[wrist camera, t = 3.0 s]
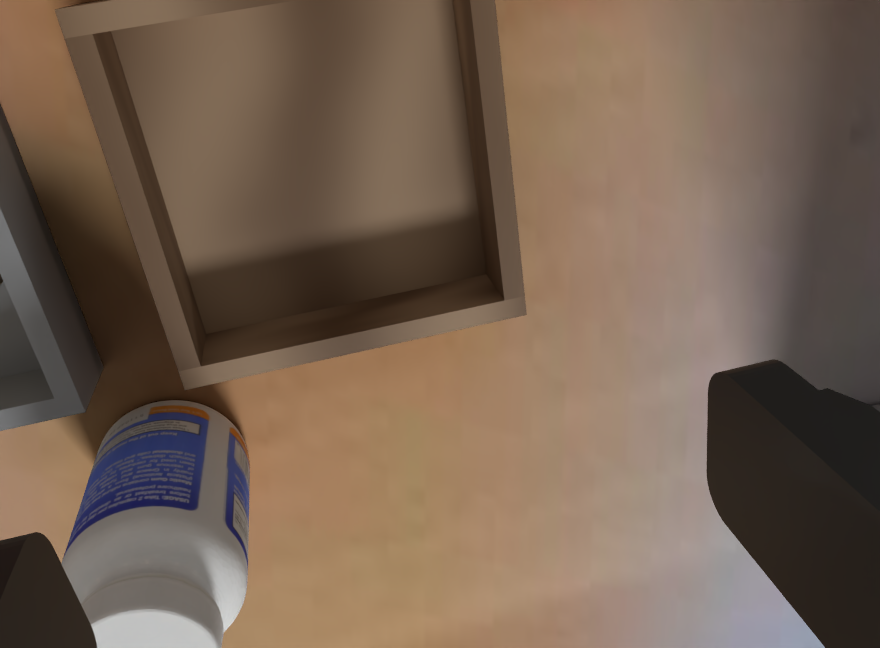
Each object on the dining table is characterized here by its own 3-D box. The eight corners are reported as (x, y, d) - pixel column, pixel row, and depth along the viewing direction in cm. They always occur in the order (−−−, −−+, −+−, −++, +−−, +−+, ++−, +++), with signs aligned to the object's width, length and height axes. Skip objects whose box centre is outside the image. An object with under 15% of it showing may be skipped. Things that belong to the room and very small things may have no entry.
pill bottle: (69, 472, 28) (-18, 696, 20) (156, 368, 27) (104, 556, 19) (195, 536, 31) (167, 762, 22) (280, 442, 30) (285, 641, 21)
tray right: (463, -58, 23) (488, -61, 21) (502, 281, 29) (526, 314, 26) (80, 3, 22) (54, 9, 19) (192, 348, 27) (184, 390, 25)
